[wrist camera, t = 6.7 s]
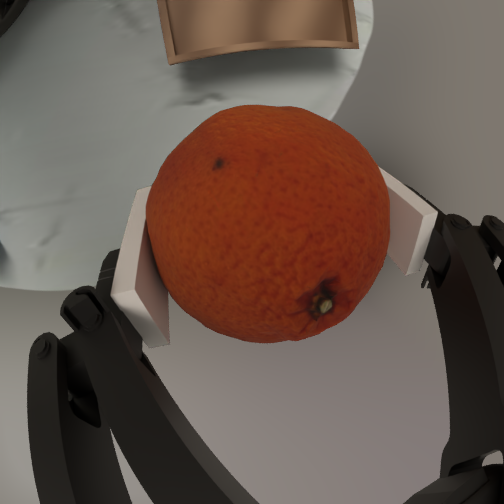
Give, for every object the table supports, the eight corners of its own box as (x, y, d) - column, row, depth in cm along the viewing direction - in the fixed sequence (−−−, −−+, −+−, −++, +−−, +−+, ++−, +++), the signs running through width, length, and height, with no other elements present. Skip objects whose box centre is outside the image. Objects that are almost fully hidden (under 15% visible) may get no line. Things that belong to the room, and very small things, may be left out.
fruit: (308, 70, 10) (455, 103, 4) (339, 221, 16) (418, 325, 10) (120, 143, 10) (46, 263, 4) (200, 277, 16) (222, 408, 10)
